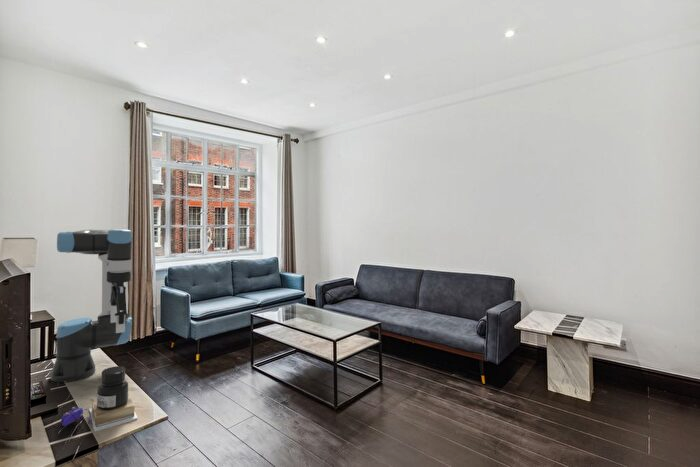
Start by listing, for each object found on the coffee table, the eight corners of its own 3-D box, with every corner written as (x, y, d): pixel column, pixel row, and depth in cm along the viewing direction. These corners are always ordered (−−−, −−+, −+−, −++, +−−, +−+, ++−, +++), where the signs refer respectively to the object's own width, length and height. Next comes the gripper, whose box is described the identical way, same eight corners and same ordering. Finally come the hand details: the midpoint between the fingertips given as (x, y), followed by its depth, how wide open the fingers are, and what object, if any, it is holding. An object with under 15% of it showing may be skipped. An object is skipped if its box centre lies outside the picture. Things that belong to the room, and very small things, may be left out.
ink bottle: (90, 406, 120) (91, 371, 119) (117, 395, 128) (117, 362, 127) (107, 414, 116) (108, 378, 115) (134, 402, 124) (135, 368, 123)
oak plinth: (91, 411, 123) (92, 402, 122) (128, 401, 130) (128, 393, 130) (95, 425, 114) (95, 416, 114) (134, 414, 122) (134, 405, 121)
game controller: (48, 413, 115) (85, 397, 122) (55, 438, 114) (92, 420, 121) (50, 417, 108) (89, 400, 115) (57, 443, 107) (96, 424, 114)
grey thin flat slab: (89, 410, 124) (89, 408, 124) (128, 400, 132) (128, 398, 132) (94, 431, 112) (94, 429, 112) (137, 419, 120) (137, 417, 120)
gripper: (102, 266, 137) (101, 319, 138) (111, 277, 118) (110, 339, 119) (125, 265, 142) (123, 316, 143) (137, 275, 123) (135, 335, 124)
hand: (117, 327), depth 131 cm, fingers open, 13 cm apart
